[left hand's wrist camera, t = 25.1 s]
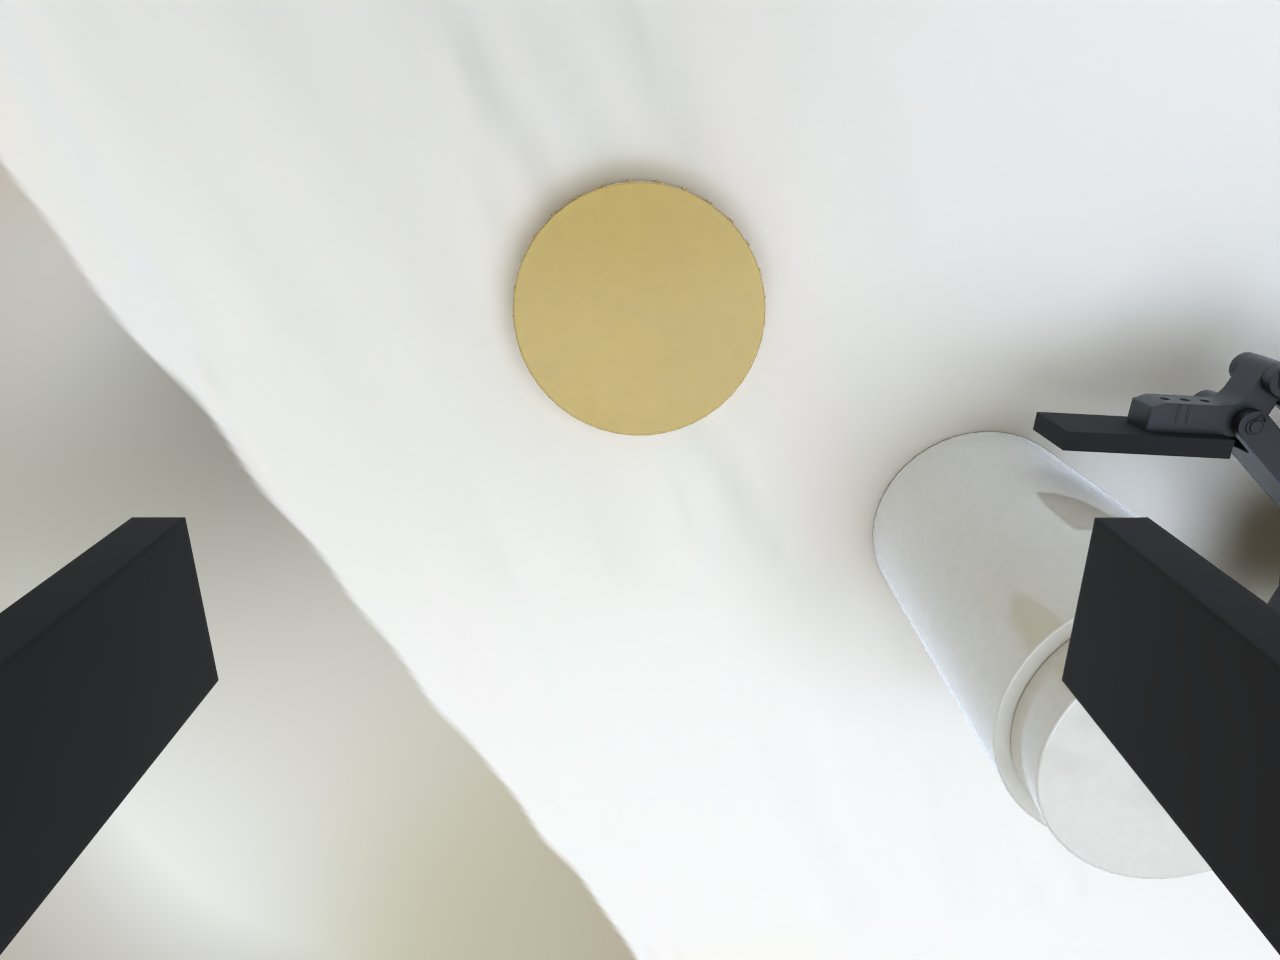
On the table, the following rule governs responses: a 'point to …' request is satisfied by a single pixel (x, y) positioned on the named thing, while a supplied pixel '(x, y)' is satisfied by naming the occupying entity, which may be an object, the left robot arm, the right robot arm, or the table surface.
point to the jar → (1020, 636)
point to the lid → (639, 308)
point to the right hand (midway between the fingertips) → (1013, 583)
